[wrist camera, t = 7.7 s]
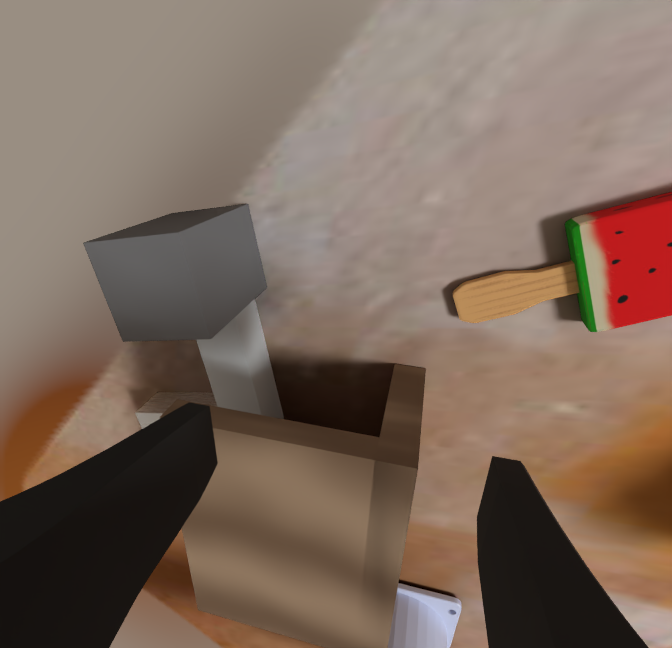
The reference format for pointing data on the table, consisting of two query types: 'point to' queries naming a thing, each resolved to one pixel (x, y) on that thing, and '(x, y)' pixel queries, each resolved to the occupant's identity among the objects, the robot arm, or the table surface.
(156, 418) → the block
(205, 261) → the hammer
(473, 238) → the table surface
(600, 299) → the popsicle
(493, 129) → the table surface
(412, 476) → the wooden corner piece
